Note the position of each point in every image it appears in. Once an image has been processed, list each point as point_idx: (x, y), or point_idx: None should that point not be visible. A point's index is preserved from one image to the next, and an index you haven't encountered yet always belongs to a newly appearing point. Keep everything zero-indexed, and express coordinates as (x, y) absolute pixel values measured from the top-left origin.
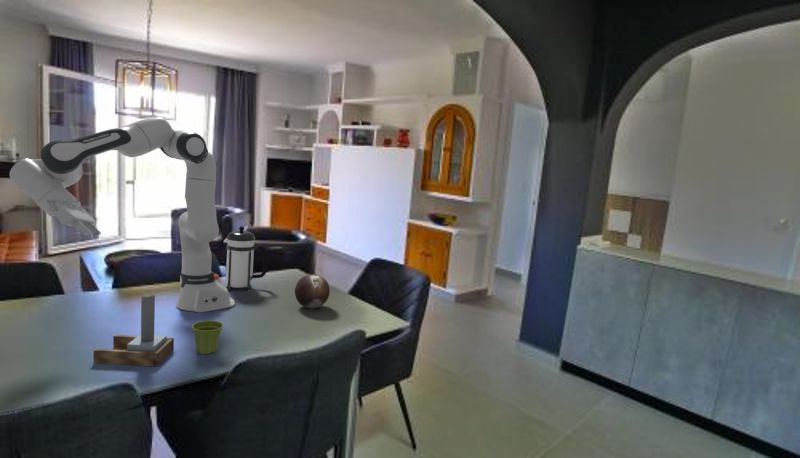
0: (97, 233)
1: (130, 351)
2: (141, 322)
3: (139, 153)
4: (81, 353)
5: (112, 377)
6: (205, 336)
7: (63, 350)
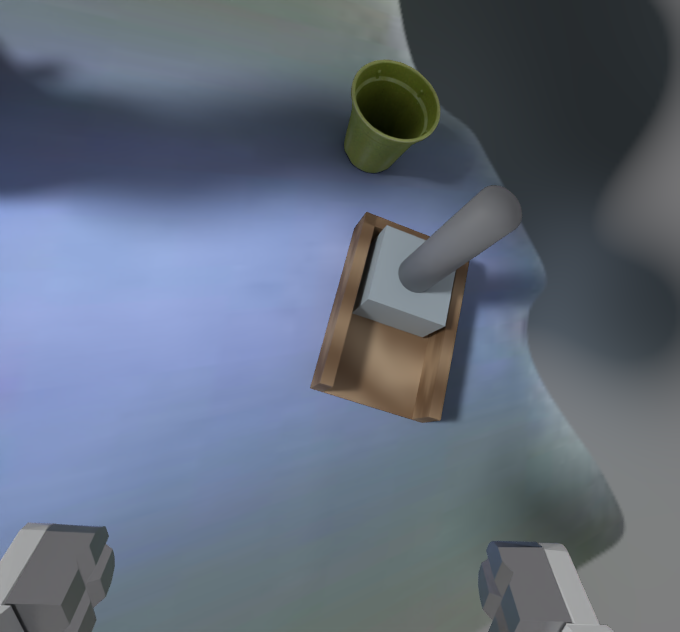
0: (98, 556)
1: (454, 319)
2: (455, 269)
3: None
4: (352, 476)
5: (502, 358)
6: (423, 124)
7: (321, 540)
